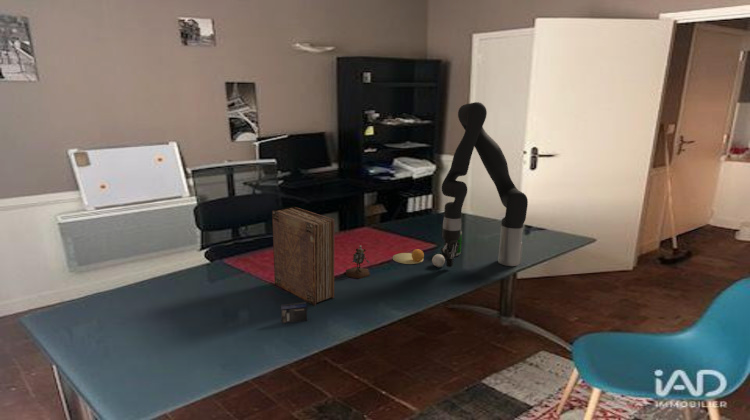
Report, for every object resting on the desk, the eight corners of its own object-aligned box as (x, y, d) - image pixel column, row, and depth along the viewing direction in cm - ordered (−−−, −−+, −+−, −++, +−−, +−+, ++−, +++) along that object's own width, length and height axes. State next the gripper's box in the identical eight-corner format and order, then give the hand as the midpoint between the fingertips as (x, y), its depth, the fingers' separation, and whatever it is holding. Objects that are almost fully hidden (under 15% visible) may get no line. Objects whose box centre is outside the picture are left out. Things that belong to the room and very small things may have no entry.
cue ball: (447, 255, 212) (442, 265, 215) (436, 249, 213) (431, 259, 215) (446, 261, 207) (440, 271, 210) (434, 255, 208) (429, 265, 210)
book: (334, 298, 178) (334, 219, 170) (314, 306, 172) (313, 224, 164) (294, 278, 195) (292, 205, 188) (274, 284, 189) (272, 209, 182)
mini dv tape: (281, 323, 159) (281, 306, 157) (281, 321, 160) (280, 304, 159) (307, 320, 161) (306, 304, 160) (306, 318, 162) (306, 302, 161)
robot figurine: (353, 280, 195) (353, 252, 192) (339, 273, 202) (340, 246, 199) (374, 274, 202) (375, 246, 199) (361, 267, 208) (361, 241, 205)
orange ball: (427, 256, 218) (417, 255, 222) (423, 246, 216) (413, 246, 219) (422, 264, 215) (412, 263, 218) (418, 254, 212) (407, 254, 216)
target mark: (412, 251, 230) (412, 251, 230) (429, 261, 218) (429, 260, 218) (386, 255, 223) (386, 255, 223) (402, 265, 211) (402, 265, 211)
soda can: (461, 257, 224) (463, 232, 221) (445, 256, 224) (446, 231, 221) (459, 251, 231) (461, 227, 228) (443, 251, 231) (444, 227, 228)
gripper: (452, 232, 197) (449, 272, 201) (467, 225, 207) (464, 264, 211) (436, 229, 201) (433, 268, 205) (451, 222, 211) (449, 260, 216)
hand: (449, 266), depth 208 cm, fingers closed
